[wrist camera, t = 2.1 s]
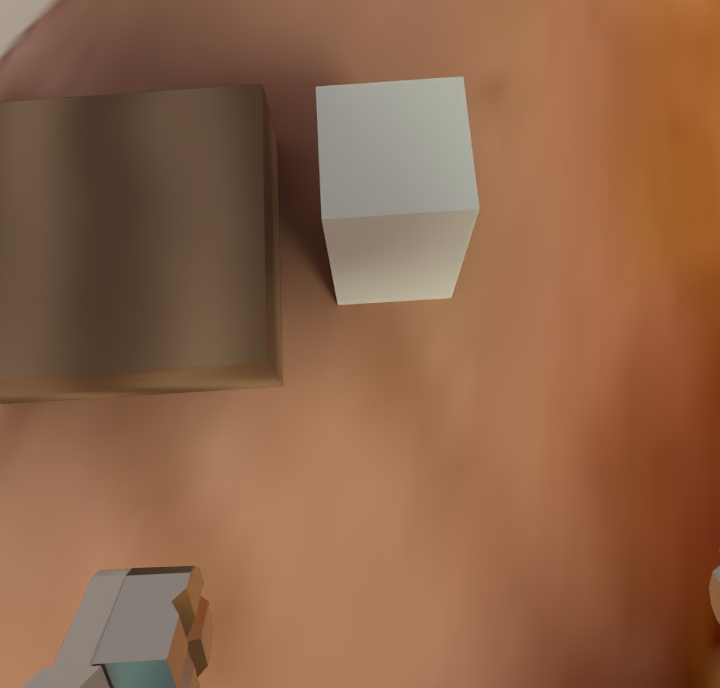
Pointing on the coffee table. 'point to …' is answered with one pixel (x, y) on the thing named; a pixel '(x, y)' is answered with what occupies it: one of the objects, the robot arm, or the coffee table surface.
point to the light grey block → (396, 187)
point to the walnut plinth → (139, 245)
